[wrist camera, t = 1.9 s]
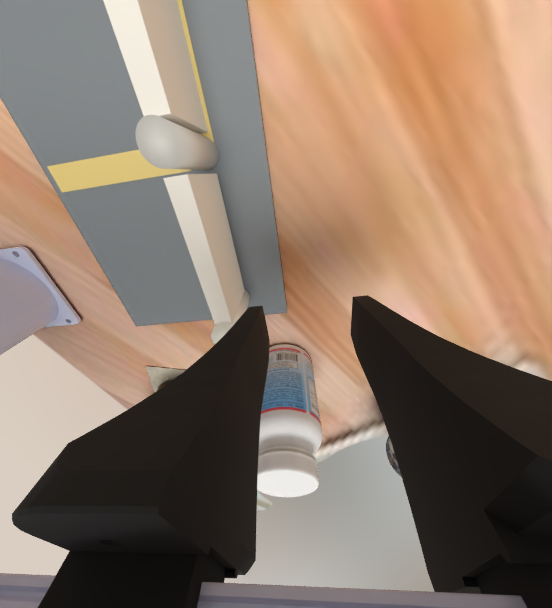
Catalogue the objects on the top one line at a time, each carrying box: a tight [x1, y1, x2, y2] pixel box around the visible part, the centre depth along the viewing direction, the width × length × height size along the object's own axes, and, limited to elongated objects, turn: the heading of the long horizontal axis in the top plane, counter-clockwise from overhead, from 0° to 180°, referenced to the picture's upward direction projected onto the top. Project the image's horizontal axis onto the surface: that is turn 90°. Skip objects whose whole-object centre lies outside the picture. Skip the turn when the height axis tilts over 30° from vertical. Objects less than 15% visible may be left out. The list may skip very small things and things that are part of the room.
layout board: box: [0, 0, 287, 326], centre depth 15 cm, size 16×24×1 cm, turn 8°
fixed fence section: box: [103, 0, 218, 170], centre depth 9 cm, size 12×2×6 cm, turn 8°
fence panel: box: [163, 174, 250, 344], centre depth 15 cm, size 10×2×6 cm, turn 8°
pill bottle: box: [257, 344, 322, 497], centre depth 20 cm, size 6×6×11 cm
